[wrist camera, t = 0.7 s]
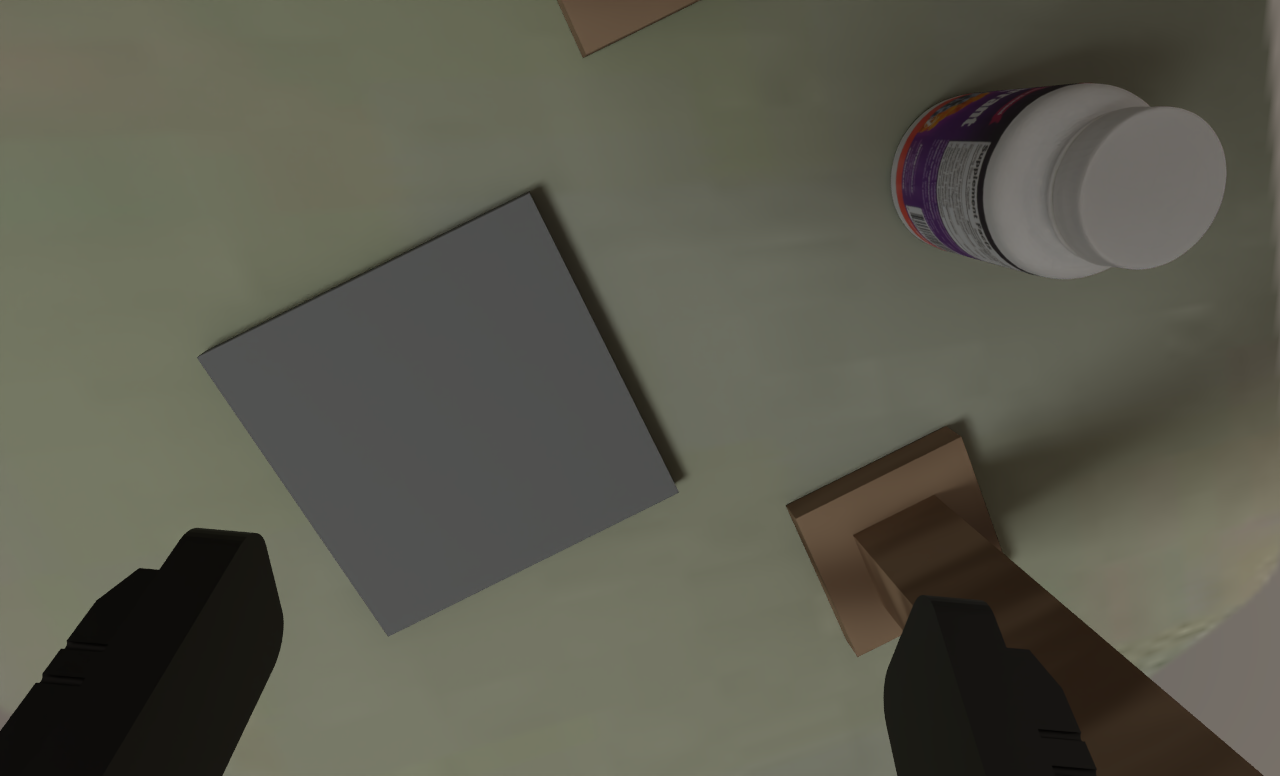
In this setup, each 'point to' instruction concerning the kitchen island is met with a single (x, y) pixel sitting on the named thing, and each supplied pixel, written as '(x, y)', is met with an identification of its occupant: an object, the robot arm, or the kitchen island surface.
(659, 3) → the walnut post
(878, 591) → the walnut post
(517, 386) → the charcoal mat
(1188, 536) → the kitchen island surface
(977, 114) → the pill bottle
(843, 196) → the kitchen island surface
